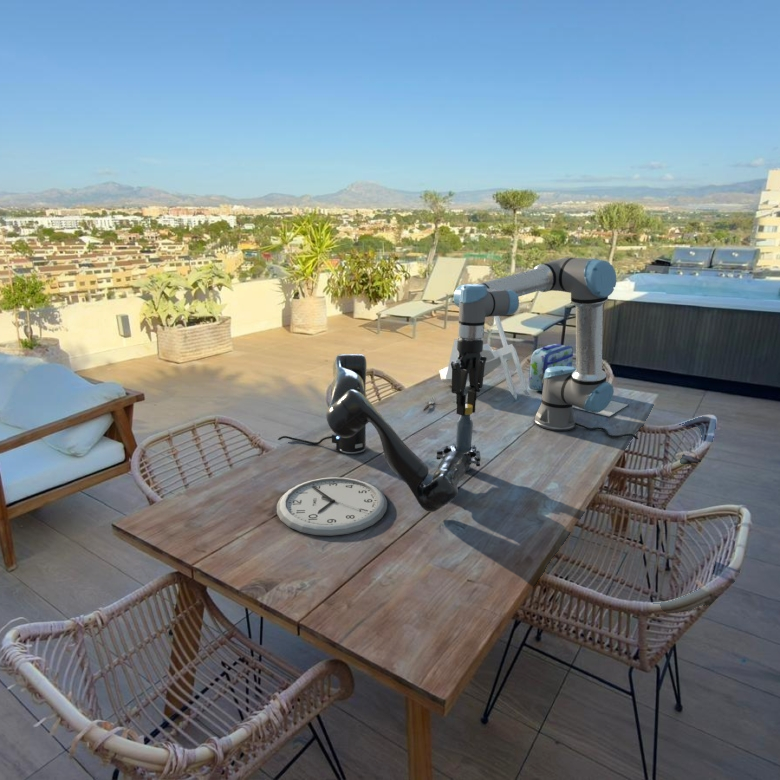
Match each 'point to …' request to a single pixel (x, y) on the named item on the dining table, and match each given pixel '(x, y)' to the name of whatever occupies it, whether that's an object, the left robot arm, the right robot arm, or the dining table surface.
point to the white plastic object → (491, 361)
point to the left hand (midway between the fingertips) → (465, 446)
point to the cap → (468, 409)
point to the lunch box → (548, 362)
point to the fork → (430, 403)
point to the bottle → (464, 434)
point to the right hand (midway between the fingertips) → (465, 412)
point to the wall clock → (331, 506)
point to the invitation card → (609, 408)
